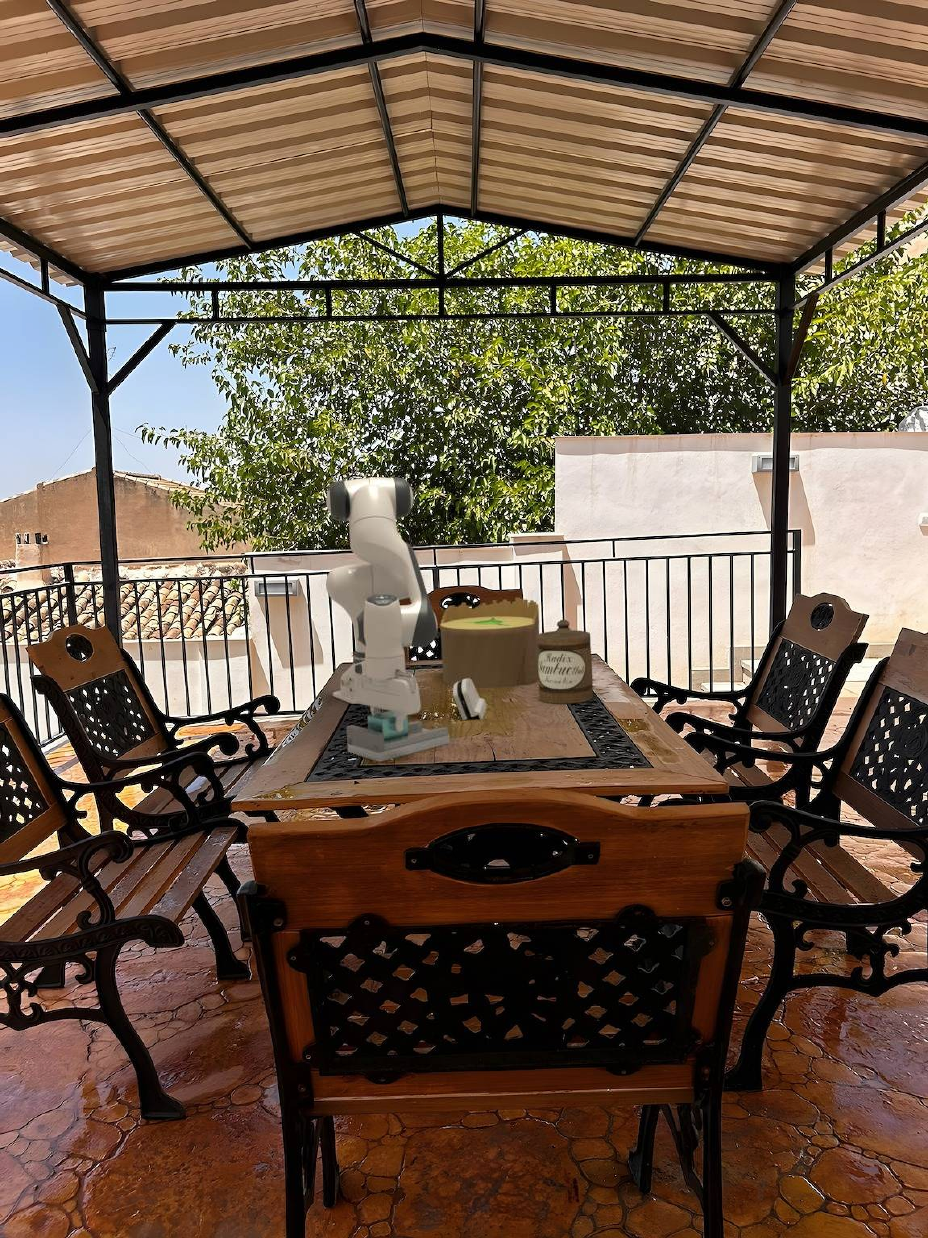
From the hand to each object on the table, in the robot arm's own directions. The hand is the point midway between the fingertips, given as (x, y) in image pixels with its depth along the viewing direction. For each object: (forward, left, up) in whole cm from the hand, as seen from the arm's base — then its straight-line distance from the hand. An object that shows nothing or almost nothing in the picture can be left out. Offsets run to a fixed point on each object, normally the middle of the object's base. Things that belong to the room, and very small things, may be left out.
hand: (388, 728), depth 202 cm
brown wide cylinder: (-44, +73, -5) cm, 86 cm away
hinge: (-14, +36, -6) cm, 39 cm away
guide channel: (0, +3, -5) cm, 6 cm away
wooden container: (-5, +65, -5) cm, 65 cm away
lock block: (0, 0, -2) cm, 2 cm away
